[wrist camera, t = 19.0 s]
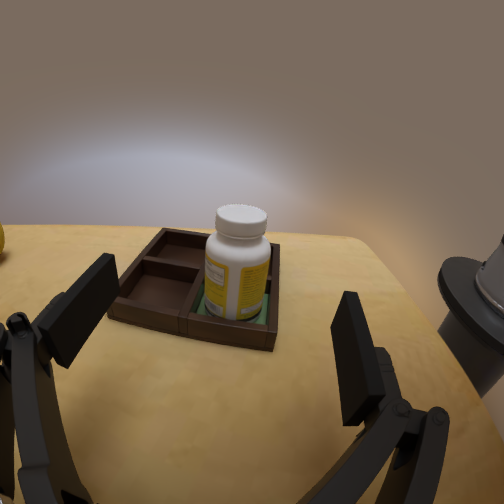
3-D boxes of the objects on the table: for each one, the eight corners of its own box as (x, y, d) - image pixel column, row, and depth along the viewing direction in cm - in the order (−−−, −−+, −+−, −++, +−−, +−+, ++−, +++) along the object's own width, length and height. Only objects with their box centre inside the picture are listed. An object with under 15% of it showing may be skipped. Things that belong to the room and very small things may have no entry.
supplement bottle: (262, 296, 28) (277, 206, 23) (258, 333, 23) (277, 232, 19) (210, 288, 28) (215, 197, 24) (198, 323, 24) (199, 221, 19)
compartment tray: (277, 260, 36) (280, 244, 35) (272, 351, 23) (277, 332, 21) (163, 243, 37) (162, 227, 35) (108, 317, 23) (102, 298, 22)
